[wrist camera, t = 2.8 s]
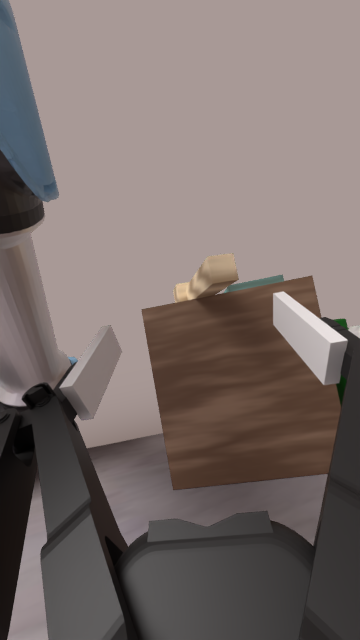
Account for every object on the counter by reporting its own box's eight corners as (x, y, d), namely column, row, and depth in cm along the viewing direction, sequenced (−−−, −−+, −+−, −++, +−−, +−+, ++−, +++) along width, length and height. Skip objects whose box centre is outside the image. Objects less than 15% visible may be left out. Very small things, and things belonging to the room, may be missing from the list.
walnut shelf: (354, 470, 28) (310, 268, 29) (173, 489, 31) (140, 303, 32) (303, 422, 42) (275, 287, 43) (181, 438, 44) (158, 310, 46)
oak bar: (251, 277, 22) (244, 242, 22) (199, 285, 21) (192, 249, 22) (204, 305, 43) (200, 286, 43) (176, 309, 42) (173, 291, 42)
